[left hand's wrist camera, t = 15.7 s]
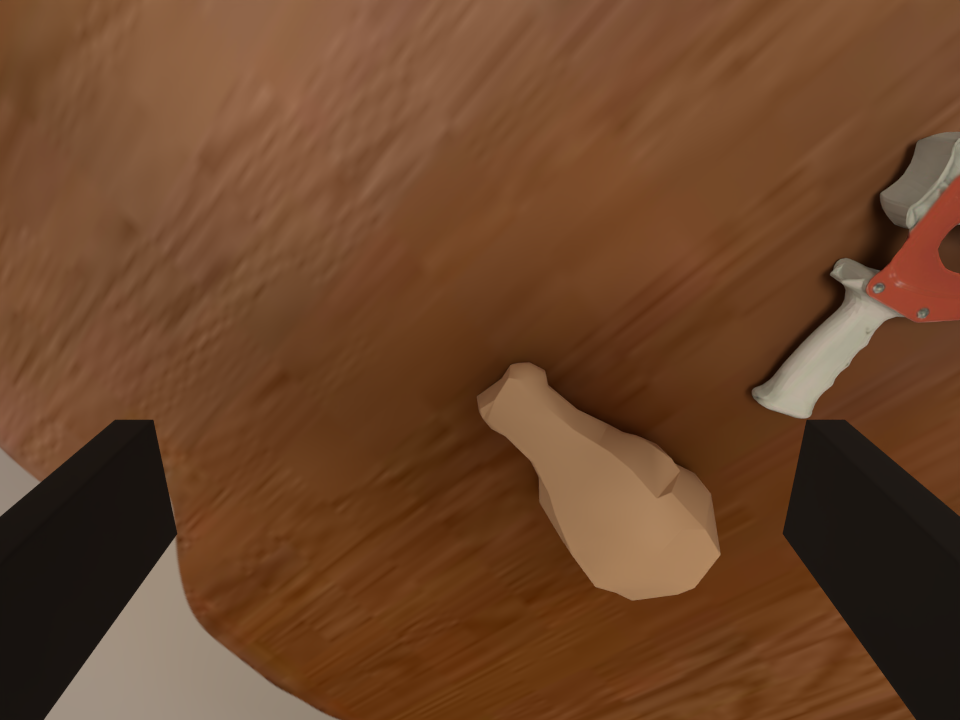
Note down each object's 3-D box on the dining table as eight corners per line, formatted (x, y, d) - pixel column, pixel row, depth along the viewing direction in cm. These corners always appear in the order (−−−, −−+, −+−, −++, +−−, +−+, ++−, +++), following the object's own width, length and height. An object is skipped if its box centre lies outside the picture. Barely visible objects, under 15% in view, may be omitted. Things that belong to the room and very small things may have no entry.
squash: (631, 566, 52) (631, 654, 44) (454, 403, 50) (420, 465, 41) (740, 496, 47) (763, 581, 39) (551, 313, 45) (534, 363, 37)
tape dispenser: (741, 402, 48) (1031, 352, 45) (766, 440, 43) (1092, 386, 40) (723, 169, 41) (1065, 91, 38) (751, 182, 36) (1144, 95, 33)
